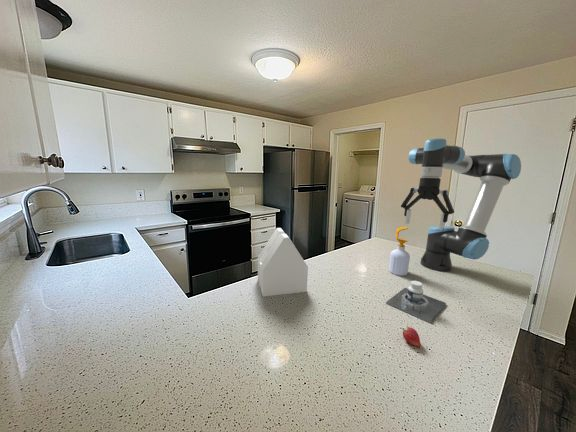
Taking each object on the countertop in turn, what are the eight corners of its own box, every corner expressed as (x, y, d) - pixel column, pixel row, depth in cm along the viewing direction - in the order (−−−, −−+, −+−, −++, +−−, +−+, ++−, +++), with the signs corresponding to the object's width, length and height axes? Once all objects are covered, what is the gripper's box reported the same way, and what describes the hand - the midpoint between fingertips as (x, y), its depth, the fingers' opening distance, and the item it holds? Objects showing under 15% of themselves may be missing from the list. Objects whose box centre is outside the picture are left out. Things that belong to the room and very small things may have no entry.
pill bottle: (405, 299, 96) (407, 278, 95) (419, 301, 95) (422, 280, 93) (407, 306, 91) (410, 284, 90) (422, 308, 90) (425, 287, 88)
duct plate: (404, 289, 106) (405, 283, 105) (445, 304, 94) (446, 297, 94) (386, 303, 94) (387, 296, 94) (430, 323, 83) (431, 315, 82)
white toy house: (262, 296, 97) (263, 238, 92) (257, 279, 111) (257, 228, 107) (306, 291, 102) (309, 236, 97) (296, 276, 116) (298, 227, 111)
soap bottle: (409, 276, 119) (416, 229, 114) (390, 274, 120) (396, 228, 116) (404, 269, 127) (410, 225, 122) (387, 267, 129) (392, 224, 124)
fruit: (414, 351, 70) (417, 336, 69) (398, 338, 75) (399, 324, 74) (424, 347, 71) (426, 332, 70) (407, 334, 77) (409, 320, 76)
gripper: (396, 176, 105) (391, 222, 109) (464, 178, 87) (454, 234, 91) (403, 176, 110) (398, 220, 114) (468, 178, 92) (459, 231, 96)
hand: (423, 226), depth 103 cm, fingers open, 13 cm apart
